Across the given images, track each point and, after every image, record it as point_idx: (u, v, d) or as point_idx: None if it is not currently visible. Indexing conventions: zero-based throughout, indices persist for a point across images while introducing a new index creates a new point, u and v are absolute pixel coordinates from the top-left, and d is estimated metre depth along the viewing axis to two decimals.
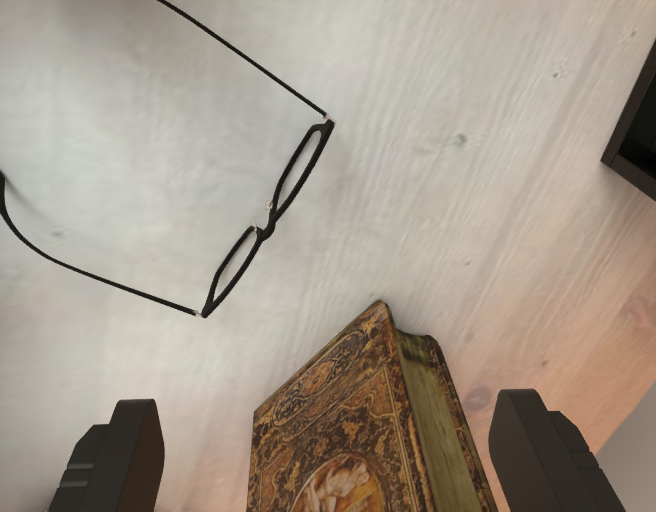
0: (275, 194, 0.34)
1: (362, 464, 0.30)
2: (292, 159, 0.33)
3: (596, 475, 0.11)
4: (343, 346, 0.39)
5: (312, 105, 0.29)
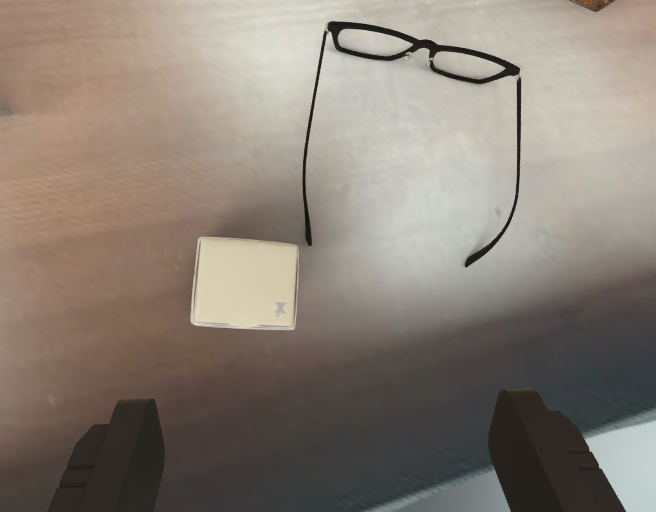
0: (398, 56, 0.41)
1: None
2: (366, 56, 0.42)
3: (596, 475, 0.11)
4: None
5: (323, 43, 0.37)
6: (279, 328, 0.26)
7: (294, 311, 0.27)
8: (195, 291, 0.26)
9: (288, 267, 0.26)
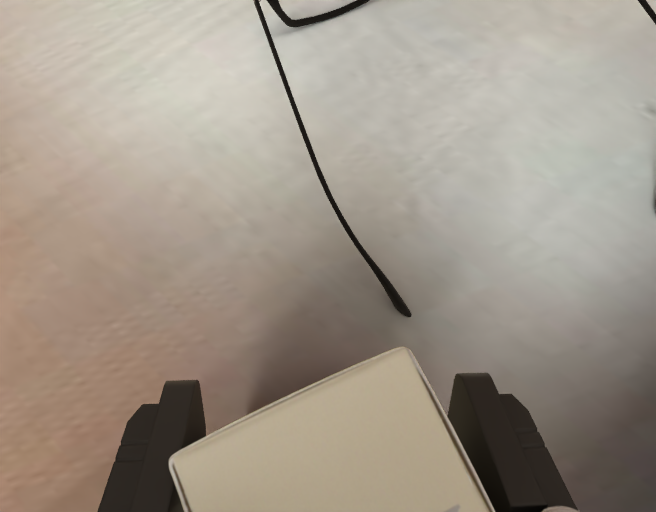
0: None
1: None
2: (335, 13, 0.27)
3: (541, 453, 0.11)
4: None
5: (261, 15, 0.23)
6: None
7: None
8: None
9: (414, 412, 0.10)
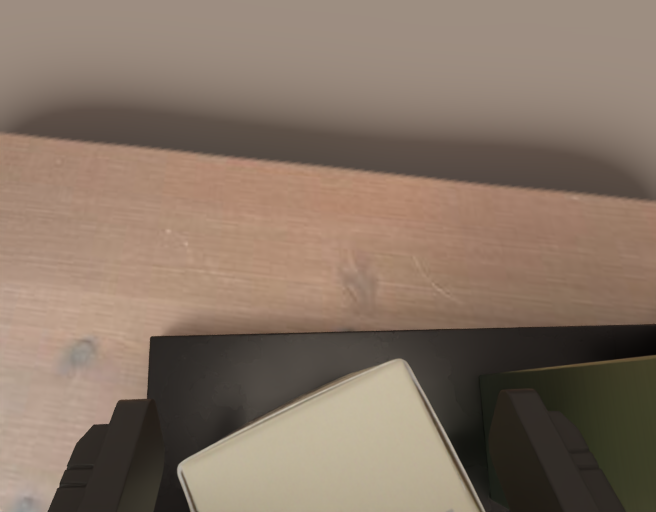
0: None
1: None
2: None
3: (596, 475, 0.11)
4: None
5: None
6: None
7: None
8: None
9: (410, 421, 0.10)
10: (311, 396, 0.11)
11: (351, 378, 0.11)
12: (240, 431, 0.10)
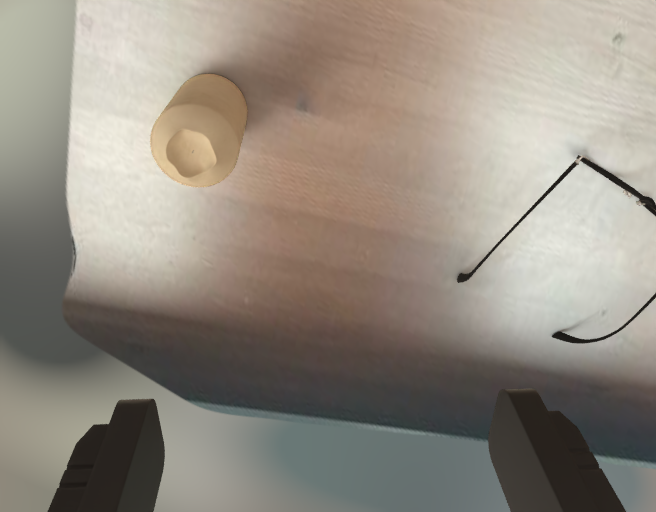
0: (620, 185, 0.46)
1: None
2: (596, 169, 0.46)
3: (596, 475, 0.11)
4: None
5: (568, 172, 0.43)
6: None
7: None
8: None
9: None
10: None
11: None
12: None
